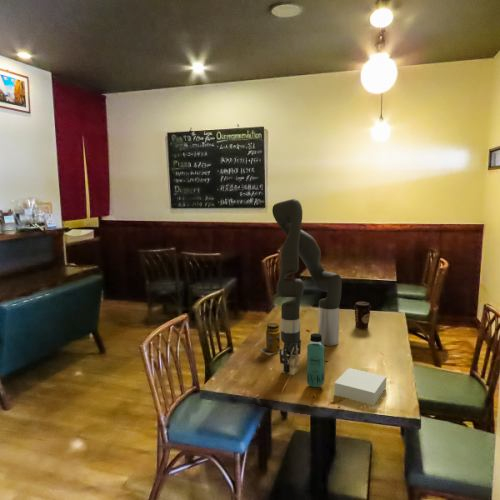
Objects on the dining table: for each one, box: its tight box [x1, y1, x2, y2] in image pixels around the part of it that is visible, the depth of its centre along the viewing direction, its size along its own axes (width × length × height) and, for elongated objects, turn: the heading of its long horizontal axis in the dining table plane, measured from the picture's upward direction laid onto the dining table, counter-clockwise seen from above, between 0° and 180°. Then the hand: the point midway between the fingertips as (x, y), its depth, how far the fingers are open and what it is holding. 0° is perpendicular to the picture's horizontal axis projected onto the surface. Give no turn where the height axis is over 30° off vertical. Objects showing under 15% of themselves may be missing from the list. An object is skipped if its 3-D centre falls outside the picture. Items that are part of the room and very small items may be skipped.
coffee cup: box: [353, 301, 372, 331], centre depth 214 cm, size 9×8×13 cm
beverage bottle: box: [306, 332, 326, 388], centre depth 152 cm, size 6×7×20 cm
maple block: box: [281, 354, 300, 376], centre depth 167 cm, size 5×5×6 cm
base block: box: [334, 367, 387, 406], centre depth 149 cm, size 14×14×5 cm
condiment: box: [259, 322, 281, 356], centre depth 187 cm, size 7×8×12 cm
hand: (290, 369), depth 167 cm, fingers open, 6 cm apart
